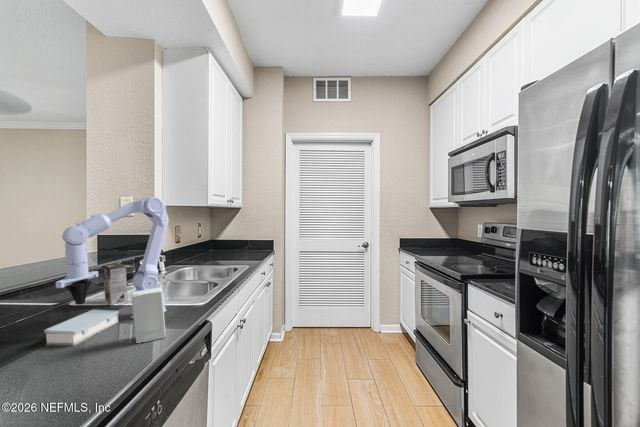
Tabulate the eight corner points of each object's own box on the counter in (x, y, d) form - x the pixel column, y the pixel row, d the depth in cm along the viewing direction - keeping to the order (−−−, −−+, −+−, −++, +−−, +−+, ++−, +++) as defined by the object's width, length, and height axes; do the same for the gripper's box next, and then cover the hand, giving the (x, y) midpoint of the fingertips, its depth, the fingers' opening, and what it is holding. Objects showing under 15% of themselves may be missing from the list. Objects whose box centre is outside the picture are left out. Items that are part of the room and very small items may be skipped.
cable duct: (119, 322, 115) (118, 312, 115) (75, 345, 97) (74, 334, 97) (95, 322, 116) (94, 312, 116) (47, 345, 98) (46, 333, 98)
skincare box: (165, 331, 105) (162, 286, 104) (165, 338, 100) (162, 290, 99) (135, 337, 101) (132, 290, 101) (134, 345, 96) (131, 295, 95)
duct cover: (118, 313, 115) (118, 310, 115) (74, 334, 97) (74, 331, 97) (93, 312, 116) (93, 309, 116) (44, 333, 98) (44, 329, 98)
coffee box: (104, 302, 140) (102, 265, 139) (121, 298, 145) (119, 262, 144) (111, 306, 134) (108, 267, 133) (128, 302, 138) (125, 265, 138)
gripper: (84, 258, 115) (87, 297, 115) (45, 267, 100) (48, 311, 101) (102, 258, 114) (105, 296, 115) (66, 267, 100) (69, 311, 100)
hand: (80, 303), depth 108 cm, fingers closed
